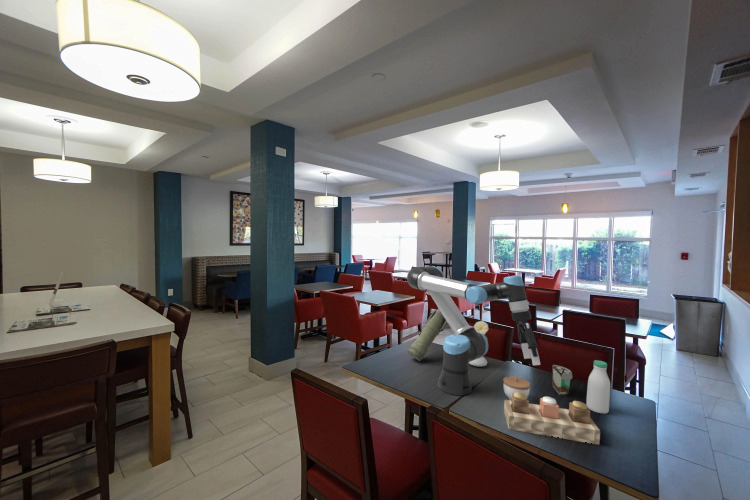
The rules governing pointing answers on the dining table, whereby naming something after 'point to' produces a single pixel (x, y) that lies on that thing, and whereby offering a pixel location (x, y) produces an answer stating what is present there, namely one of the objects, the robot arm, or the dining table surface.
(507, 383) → the lidded jar
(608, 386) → the milk bottle
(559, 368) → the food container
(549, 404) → the middle button
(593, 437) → the button mount
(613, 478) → the dining table surface
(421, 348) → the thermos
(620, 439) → the dining table surface
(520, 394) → the left button
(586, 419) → the right button
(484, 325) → the flower in vase
